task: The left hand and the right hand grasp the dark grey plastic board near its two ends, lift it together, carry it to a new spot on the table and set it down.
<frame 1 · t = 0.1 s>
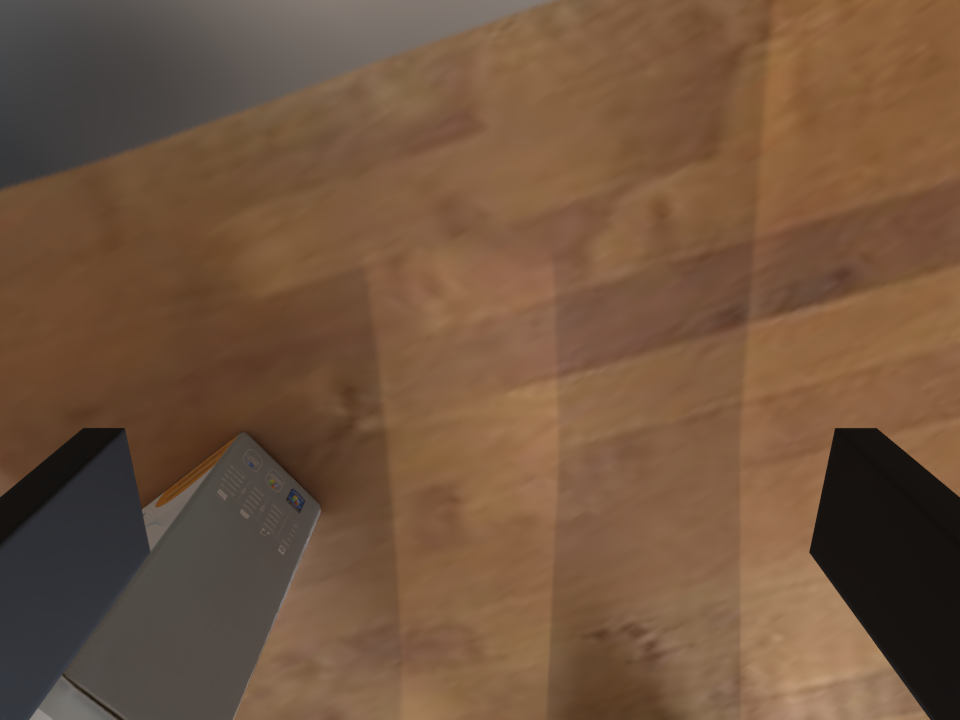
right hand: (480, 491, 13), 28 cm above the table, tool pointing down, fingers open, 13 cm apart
hard drive box: (204, 527, 46), on the table
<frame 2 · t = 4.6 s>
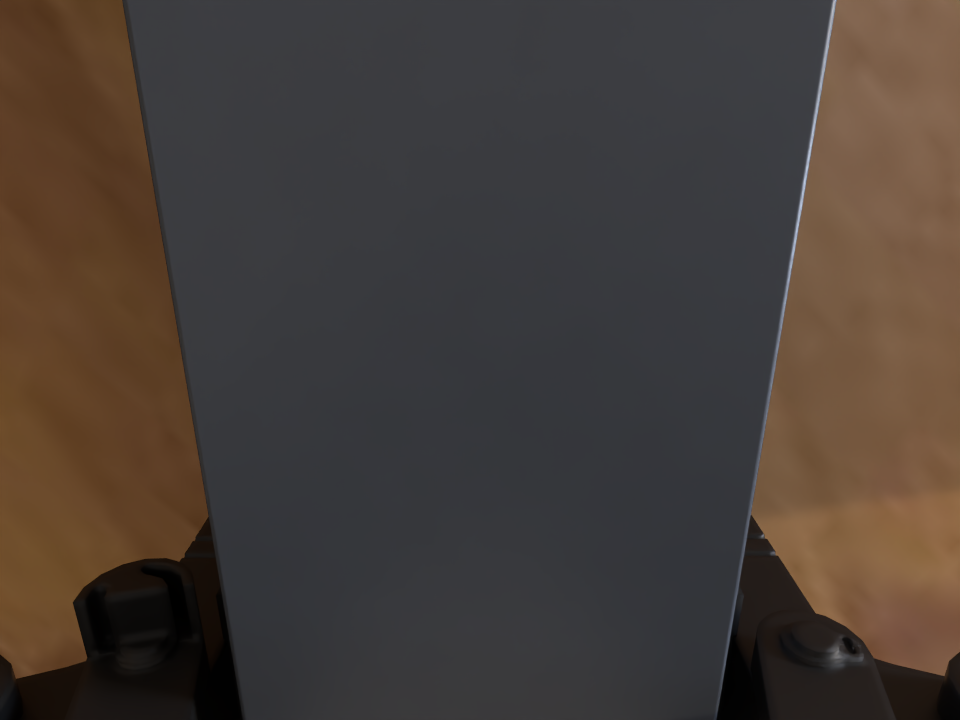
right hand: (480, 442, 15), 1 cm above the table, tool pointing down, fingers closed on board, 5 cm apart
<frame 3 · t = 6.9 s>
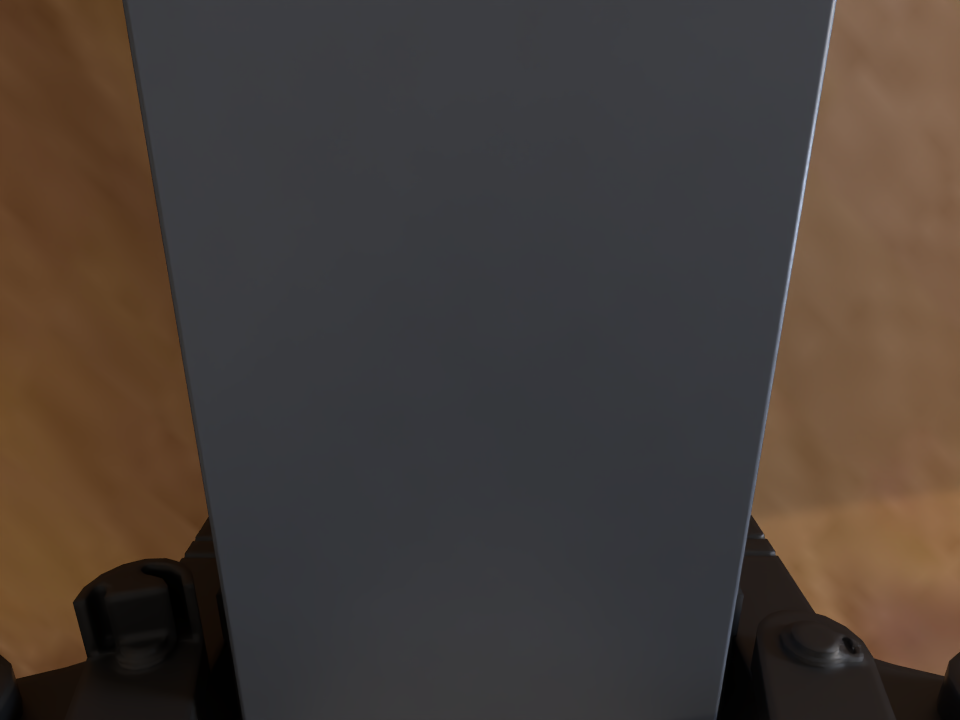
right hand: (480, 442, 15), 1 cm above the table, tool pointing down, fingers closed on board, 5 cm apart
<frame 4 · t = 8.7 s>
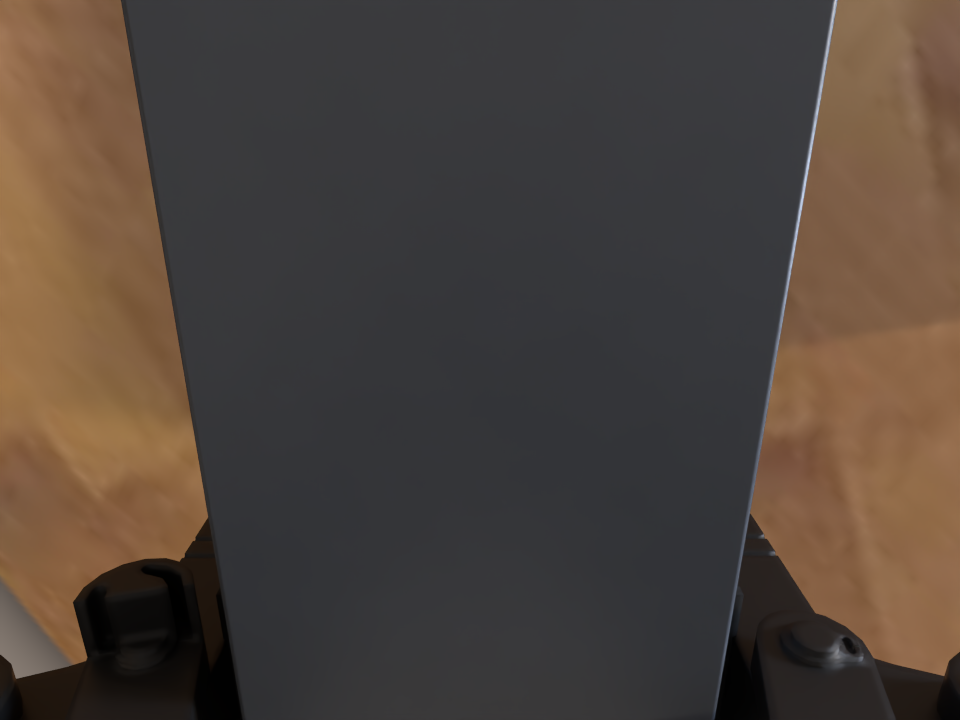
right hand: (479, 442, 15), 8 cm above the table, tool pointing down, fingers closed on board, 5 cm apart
when the left hand's fingers open (2 cm above the table, at t = 12.7 s): board drops 1 cm, on the table.
when the right hand's fingers open (2 cm above the table, at t = 12.7 s): board drops 1 cm, on the table.
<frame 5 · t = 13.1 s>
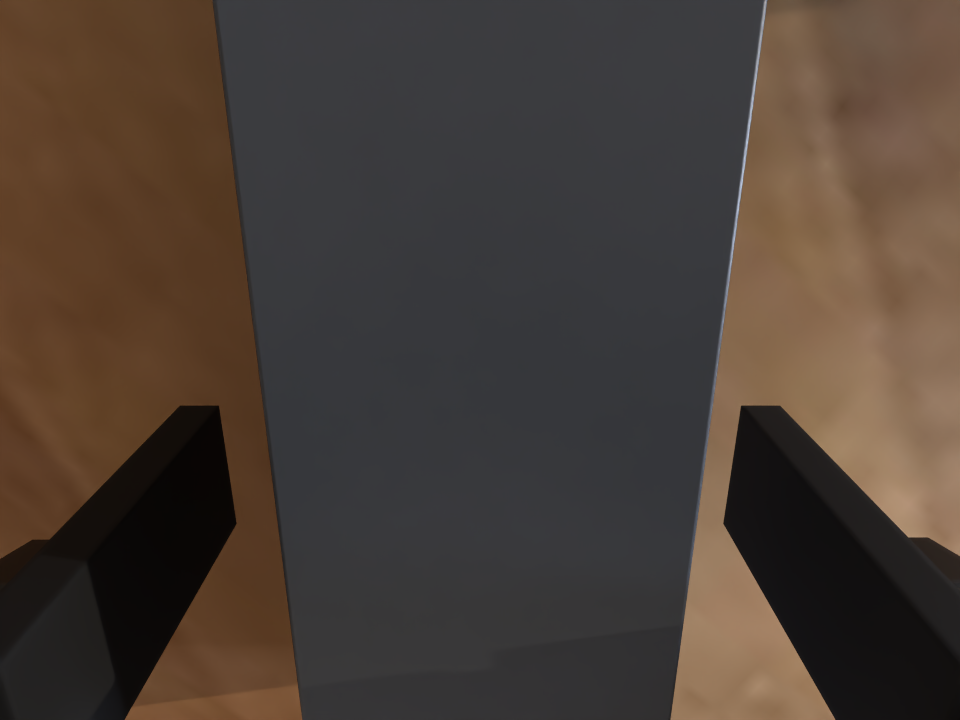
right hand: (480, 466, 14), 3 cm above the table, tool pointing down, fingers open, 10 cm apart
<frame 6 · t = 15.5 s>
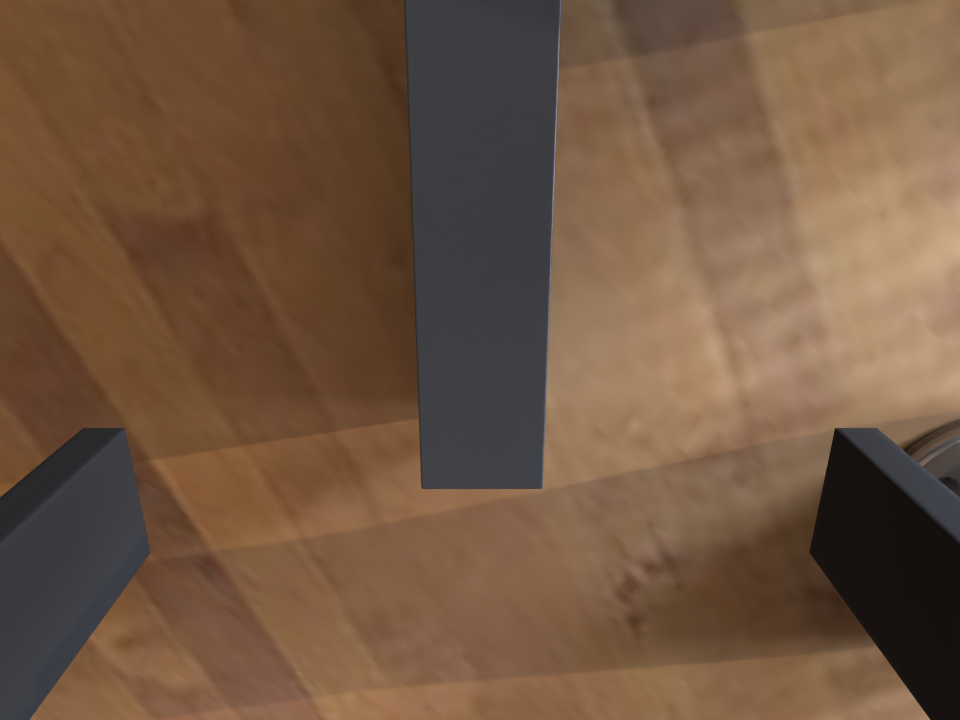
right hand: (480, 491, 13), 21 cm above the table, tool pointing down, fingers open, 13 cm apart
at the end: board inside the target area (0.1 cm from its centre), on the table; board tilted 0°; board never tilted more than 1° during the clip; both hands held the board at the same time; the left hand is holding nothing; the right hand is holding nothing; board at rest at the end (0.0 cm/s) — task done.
